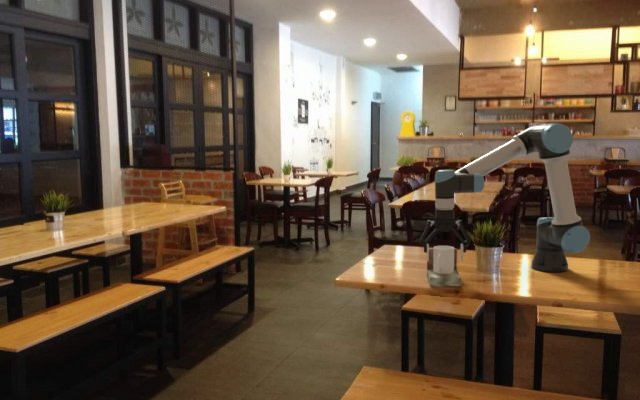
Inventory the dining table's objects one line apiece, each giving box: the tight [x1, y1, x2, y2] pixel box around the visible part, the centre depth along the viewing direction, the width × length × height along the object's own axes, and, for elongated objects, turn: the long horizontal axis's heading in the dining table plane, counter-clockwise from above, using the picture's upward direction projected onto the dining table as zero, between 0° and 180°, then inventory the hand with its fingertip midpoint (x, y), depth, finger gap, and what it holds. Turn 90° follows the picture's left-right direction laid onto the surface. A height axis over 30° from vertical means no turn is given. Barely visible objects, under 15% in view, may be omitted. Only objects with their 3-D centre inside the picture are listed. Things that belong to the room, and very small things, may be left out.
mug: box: [433, 245, 455, 274], centre depth 230 cm, size 12×8×10 cm
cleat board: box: [426, 247, 462, 287], centre depth 231 cm, size 12×16×12 cm
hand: (444, 260), depth 229 cm, fingers open, 13 cm apart
